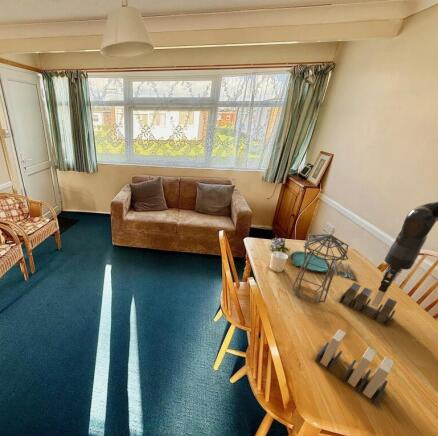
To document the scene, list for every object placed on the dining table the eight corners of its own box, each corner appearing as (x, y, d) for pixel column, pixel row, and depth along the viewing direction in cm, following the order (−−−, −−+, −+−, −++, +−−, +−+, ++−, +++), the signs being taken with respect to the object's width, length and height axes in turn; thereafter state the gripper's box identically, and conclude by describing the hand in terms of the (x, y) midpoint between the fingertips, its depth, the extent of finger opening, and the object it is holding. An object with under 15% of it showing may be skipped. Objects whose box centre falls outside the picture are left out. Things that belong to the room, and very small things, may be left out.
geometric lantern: (326, 295, 113) (353, 233, 98) (324, 315, 102) (353, 249, 87) (290, 281, 122) (310, 223, 107) (284, 298, 111) (305, 236, 96)
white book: (381, 301, 100) (394, 278, 95) (376, 307, 97) (390, 283, 92) (375, 298, 102) (387, 275, 96) (370, 304, 99) (383, 280, 93)
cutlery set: (290, 250, 149) (291, 248, 148) (348, 265, 135) (350, 262, 134) (289, 266, 134) (290, 263, 133) (354, 285, 119) (356, 281, 118)
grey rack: (391, 319, 100) (402, 302, 95) (386, 328, 96) (397, 311, 91) (343, 296, 113) (351, 280, 108) (337, 303, 108) (345, 286, 104)
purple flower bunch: (270, 256, 153) (269, 238, 155) (289, 257, 148) (288, 239, 151) (270, 255, 143) (270, 236, 145) (291, 256, 138) (290, 236, 141)
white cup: (265, 266, 134) (269, 251, 130) (277, 264, 136) (281, 250, 132) (274, 274, 127) (278, 259, 123) (286, 272, 129) (291, 258, 124)
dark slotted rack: (382, 391, 74) (402, 364, 68) (374, 407, 70) (395, 380, 64) (322, 350, 87) (335, 324, 81) (312, 361, 83) (325, 335, 77)
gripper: (411, 265, 83) (391, 300, 90) (420, 252, 90) (400, 286, 97) (384, 256, 88) (367, 289, 95) (394, 244, 96) (377, 276, 103)
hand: (384, 287), depth 96 cm, fingers closed on white book, 6 cm apart
